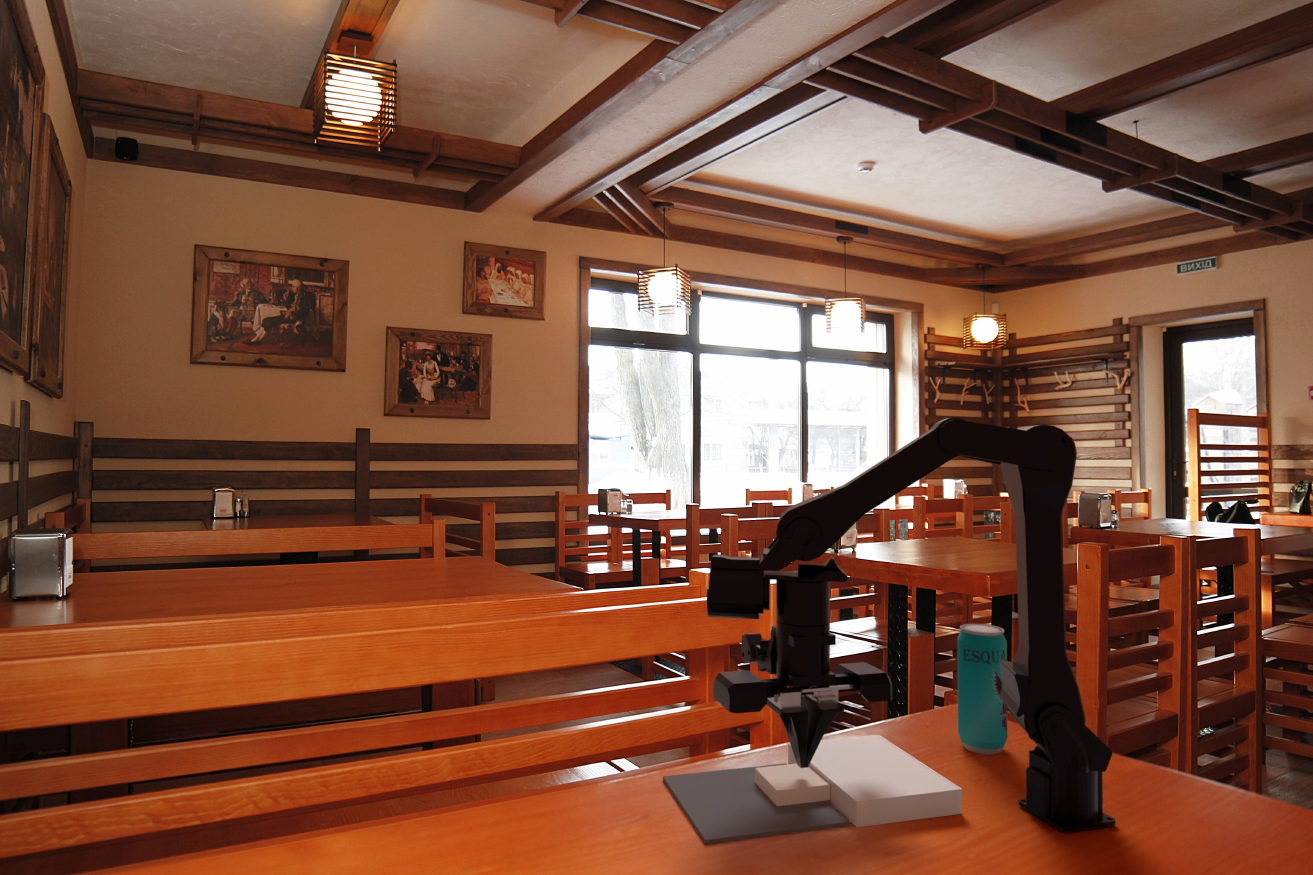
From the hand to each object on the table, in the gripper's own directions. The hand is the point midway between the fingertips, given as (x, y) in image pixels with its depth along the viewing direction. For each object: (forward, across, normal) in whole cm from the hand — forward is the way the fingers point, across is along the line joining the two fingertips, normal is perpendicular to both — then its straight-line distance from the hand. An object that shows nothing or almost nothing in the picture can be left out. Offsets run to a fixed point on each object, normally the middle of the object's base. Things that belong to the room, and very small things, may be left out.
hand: (802, 766), depth 84 cm
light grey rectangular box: (+3, -8, 0) cm, 9 cm away
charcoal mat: (+3, +6, 0) cm, 7 cm away
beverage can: (+3, -28, -7) cm, 29 cm away
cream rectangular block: (+3, +1, 0) cm, 3 cm away
